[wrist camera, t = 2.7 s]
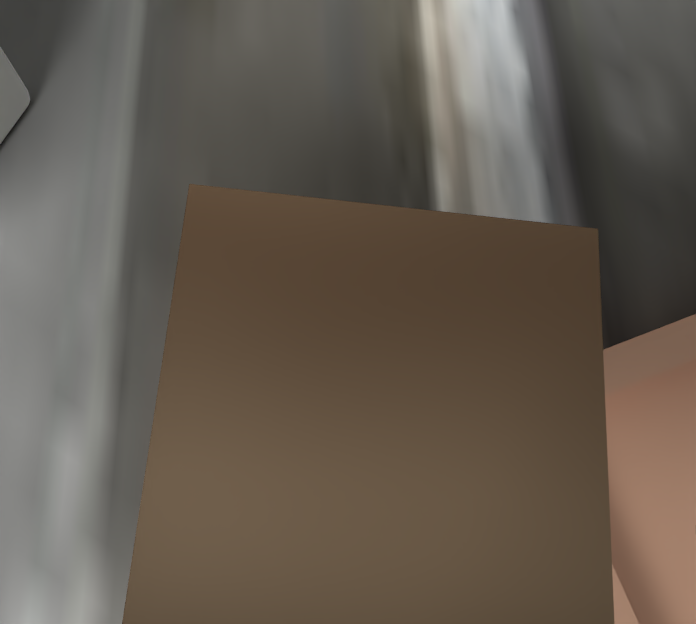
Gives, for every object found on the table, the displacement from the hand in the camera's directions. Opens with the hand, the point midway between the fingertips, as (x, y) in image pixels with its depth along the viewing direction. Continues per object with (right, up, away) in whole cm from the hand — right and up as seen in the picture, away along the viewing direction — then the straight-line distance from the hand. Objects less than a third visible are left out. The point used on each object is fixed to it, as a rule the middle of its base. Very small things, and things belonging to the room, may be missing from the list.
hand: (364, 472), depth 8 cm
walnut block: (-1, -2, +8) cm, 8 cm away
